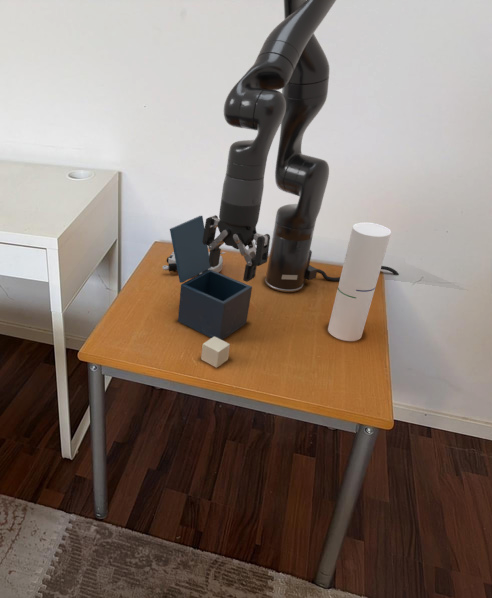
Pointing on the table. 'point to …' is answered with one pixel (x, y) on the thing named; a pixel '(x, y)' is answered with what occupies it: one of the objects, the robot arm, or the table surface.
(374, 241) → the cylindrical container
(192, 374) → the table surface
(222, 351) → the block
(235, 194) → the robot arm
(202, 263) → the lid
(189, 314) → the caddy
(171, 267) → the robot toy
